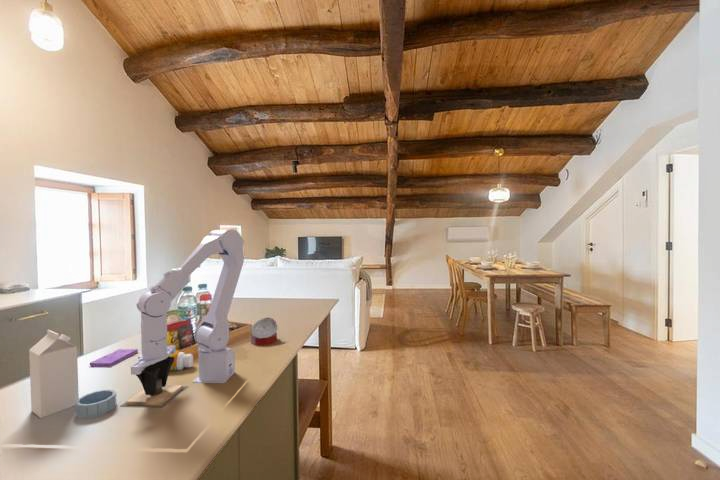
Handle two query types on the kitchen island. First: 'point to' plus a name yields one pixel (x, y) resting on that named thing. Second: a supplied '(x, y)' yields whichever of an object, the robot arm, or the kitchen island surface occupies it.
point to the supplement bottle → (181, 360)
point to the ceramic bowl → (95, 404)
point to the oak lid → (155, 395)
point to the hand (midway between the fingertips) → (155, 390)
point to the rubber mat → (156, 405)
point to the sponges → (113, 357)
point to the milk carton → (53, 374)
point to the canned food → (264, 332)
